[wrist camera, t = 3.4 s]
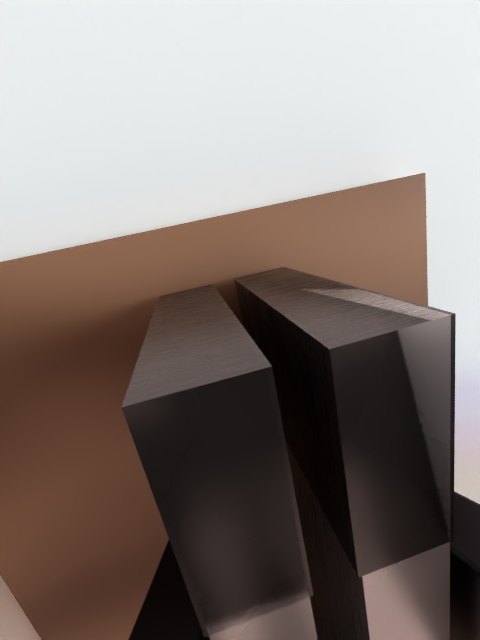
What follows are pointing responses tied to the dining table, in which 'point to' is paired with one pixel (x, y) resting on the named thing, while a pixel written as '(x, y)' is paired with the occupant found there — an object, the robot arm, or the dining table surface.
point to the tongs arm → (220, 469)
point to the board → (116, 372)
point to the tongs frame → (364, 447)
